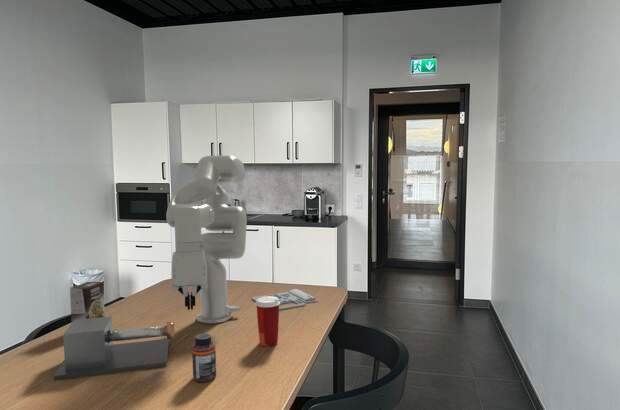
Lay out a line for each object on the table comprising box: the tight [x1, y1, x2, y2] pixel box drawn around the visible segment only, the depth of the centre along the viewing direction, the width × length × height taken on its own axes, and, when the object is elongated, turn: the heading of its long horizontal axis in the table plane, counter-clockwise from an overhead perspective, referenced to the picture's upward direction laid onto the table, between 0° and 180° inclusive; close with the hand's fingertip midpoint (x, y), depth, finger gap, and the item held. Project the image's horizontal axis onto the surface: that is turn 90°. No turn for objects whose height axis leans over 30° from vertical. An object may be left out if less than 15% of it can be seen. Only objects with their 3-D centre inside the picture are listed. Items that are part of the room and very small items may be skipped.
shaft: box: [107, 320, 176, 343], centre depth 127 cm, size 22×5×5 cm, turn 105°
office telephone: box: [251, 288, 319, 312], centre depth 181 cm, size 23×3×20 cm
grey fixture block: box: [53, 316, 170, 381], centre depth 126 cm, size 28×18×11 cm, turn 105°
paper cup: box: [254, 296, 281, 347], centre depth 137 cm, size 8×8×14 cm
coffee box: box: [69, 281, 106, 323], centre depth 149 cm, size 9×6×16 cm
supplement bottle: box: [191, 332, 217, 383], centre depth 114 cm, size 6×6×11 cm
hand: (190, 308), depth 130 cm, fingers closed
